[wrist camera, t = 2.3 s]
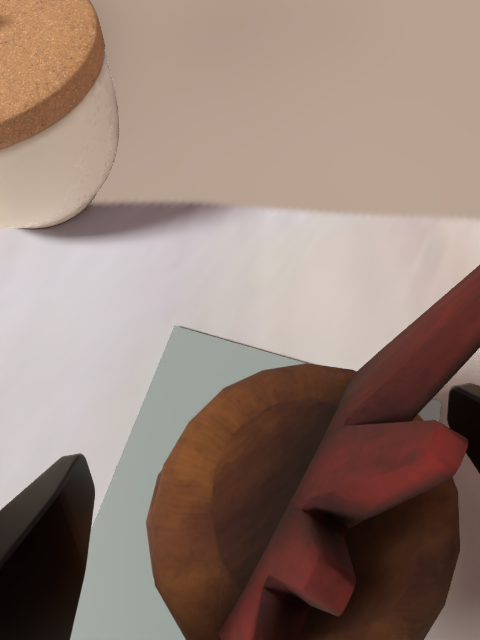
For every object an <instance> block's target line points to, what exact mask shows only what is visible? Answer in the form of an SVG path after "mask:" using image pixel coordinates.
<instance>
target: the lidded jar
mask: <svg viewBox="0 0 480 640" xmlns="http://www.w3.org/2000/svg"><path fill="white" fill-rule="evenodd" d="M118 138H119V123H118V107H117V101H116V94H115V89H114V85H113V80H112V77H111V72H110V68H109V65H108V60H107V57H106V54H105V44H104V39H103V35H102V31H101V27H100V23H99V19H98V16H97V13H96V11H95V9H94V7H93V5H92V4H91V2H90V1H89V0H0V227H1V228H27V229H38V228H46V227H51V226H55V225H57V224H60V223H63V222H65V221H67V220H69V219H71V218H73V217H74V216H76V215H78V214H79V213H80V212H82V211H83V210H84V209H85V208H86V207H87V206H88V205H89V204H90V203H91V201H92V200H93V198H94V197H95V195H96V193H97V192H98V190H99V189H100V188H101V186H102V185H103V183H104V182H105V180H106V179H107V177H108V175H109V172H110V170H111V167H112V165H113V162H114V160H115V156H116V151H117V145H118Z"/></svg>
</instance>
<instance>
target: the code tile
mask: <svg viewBox="0 0 480 640" xmlns="http://www.w3.org/2000/svg"><path fill="white" fill-rule="evenodd" d="M299 364H305V363H304V362H301V361H297V360H294V359H290V358H287V357H283V356H279V355H276V354H272V353H269V352H265V351H262V350H258V349H255V348H251V347H248V346H244V345H241V344H237V343H234V342H230V341H227V340H223V339H220V338H216V337H213V336H209V335H206V334H202V333H199V332H195V331H192V330H188V329H185V328H181V327H178V326H174V328H173V331H172V333H171V336H170V338H169V341H168V343H167V345H166V348H165V350H164V353H163V355H162V358H161V360H160V363H159V365H158V368H157V370H156V372H155V375H154V377H153V380H152V382H151V385H150V387H149V390H148V392H147V394H146V397H145V399H144V402H143V404H142V407H141V409H140V412H139V414H138V416H137V419H136V421H135V424H134V426H133V429H132V431H131V434H130V436H129V438H128V441H127V443H126V446H125V448H124V451H123V453H122V456H121V458H120V460H119V463H118V465H117V468H116V470H115V473H114V475H113V478H112V480H111V483H110V485H109V487H108V490H107V492H106V495H105V497H104V500H103V502H102V505H101V507H100V509H99V512H98V514H97V517H96V519H95V522H94V524H93V527H92V529H91V533H90V541H89V550H88V558H87V565H86V571H85V576H84V581H83V586H82V590H81V594H80V599H79V603H78V607H77V612H76V616H75V621H74V625H73V629H72V634H71V638H70V640H186V639H185V637H184V636H183V634H182V632H181V630H180V629H179V627H178V625H177V623H176V622H175V620H174V618H173V616H172V615H171V613H170V611H169V609H168V608H167V606H166V604H165V602H164V601H163V599H162V597H161V595H160V594H159V592H158V590H157V588H156V587H155V583H154V578H153V574H152V566H151V559H150V551H149V544H148V536H147V528H146V519H147V515H148V511H149V507H150V504H151V500H152V496H153V492H154V488H155V484H156V480H157V476H158V474H159V473H160V472H161V470H162V468H163V465H164V463H165V461H166V460H167V458H168V456H169V454H170V453H171V451H172V449H173V448H174V446H175V444H176V443H177V441H178V439H179V438H180V436H181V434H182V433H183V431H184V429H185V428H186V426H187V424H188V422H189V421H190V420H192V419H193V418H194V417H195V416H196V415H197V414H198V413H199V412H200V411H201V410H202V409H203V408H204V407H205V406H206V405H207V404H208V403H209V402H210V401H211V400H212V399H213V398H214V397H215V396H216V395H217V394H218V393H219V392H220V391H221V390H222V389H223V388H225V387H227V386H229V385H231V384H234V383H236V382H238V381H240V380H242V379H245V378H247V377H249V376H251V375H253V374H256V373H258V372H260V371H262V370H267V369H273V368H280V367H286V366H292V365H299ZM440 410H441V401H437V400H434V399H431V401H430V402H429V403H428V404H427V405H426V406H425V407H424V408H423V409H422V410H421V411H420V412H419V415H420V417H421V418H422V419H423V420H424V421H426V420H436V421H438V422H439V420H440Z"/></svg>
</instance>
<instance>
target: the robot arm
mask: <svg viewBox="0 0 480 640" xmlns="http://www.w3.org/2000/svg"><path fill="white" fill-rule="evenodd" d="M447 420H448V424H449V427H450V429H451V430H453V431H455V432H457V433H458V434H460V435H462V436H464V437H465V438H467V440H468V447H467V450H466V454H467V455H468V457H469V458H470V460H471V461H472V463H473V464H474V466H475V467H476V469H477V470H478V472H479V473H480V386H479V385H475V384H471V383H467V384H462V385H456V386H453V387H452V388H451V389H450V391H449V400H448V414H447ZM94 499H95V487H94V483H93V480H92V477H91V474H90V470H89V467H88V464H87V461H86V458H85V457H84V455H82V454H74V455H69V456H63V457H61V458H60V459H59V460H58V461H56V462H55V463H54V464H53V465H52V466H51V467H50V468H48V469H47V470H46V471H45V472H44V473H43V474H41V475H40V476H39V477H38V478H37V479H36V480H35V481H33V482H32V483H31V484H30V485H29V486H28V487H27V488H25V489H24V490H23V491H22V492H21V493H20V494H19V495H17V496H16V497H15V498H14V499H13V500H12V501H11V502H9V503H8V504H7V505H6V506H5V507H4V508H2V509H1V510H0V640H70V638H71V634H72V629H73V625H74V621H75V616H76V612H77V607H78V603H79V599H80V594H81V590H82V586H83V581H84V576H85V571H86V565H87V558H88V550H89V541H90V533H91V525H92V516H93V508H94Z"/></svg>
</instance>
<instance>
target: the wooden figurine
mask: <svg viewBox="0 0 480 640" xmlns="http://www.w3.org/2000/svg"><path fill="white" fill-rule="evenodd" d="M479 348H480V265H479V266H478V267H477V268H476V269H474V270H473V271H472V272H471V273H470V274H469V275H467V276H466V277H465V278H464V279H463V280H462V281H461V282H459V283H458V284H457V285H456V286H455V287H454V288H452V289H451V290H450V291H449V292H448V293H447V294H445V295H444V296H443V297H442V298H441V299H440V300H438V301H437V302H436V303H435V304H434V305H433V306H432V307H430V308H429V309H428V310H427V311H426V312H425V313H423V314H422V315H421V316H420V317H419V318H418V319H416V320H415V321H414V322H413V323H412V324H411V325H410V326H408V327H407V328H406V329H405V330H404V331H403V332H401V333H400V334H399V335H398V336H397V337H396V338H394V339H393V340H392V341H391V342H390V343H389V344H387V345H386V346H385V347H384V348H383V349H382V350H381V351H379V352H378V353H377V354H376V355H375V356H374V357H373V358H372V359H371V360H369V361H368V362H367V363H366V364H365V365H364V366H363V367H362V368H361V369H359V370H358V371H357V372H356V371H354V370H350V369H343V368H336V367H329V366H322V365H315V364H308V363H305V364H299V365H292V366H286V367H280V368H273V369H267V370H262V371H260V372H258V373H256V374H253V375H251V376H249V377H247V378H245V379H242V380H240V381H238V382H236V383H234V384H231V385H229V386H227V387H225V388H223V389H222V390H221V391H220V392H219V393H218V394H217V395H216V396H215V397H214V398H213V399H212V400H211V401H210V402H209V403H208V404H207V405H206V406H205V407H204V408H203V409H202V410H201V411H200V412H199V413H198V414H197V415H196V416H195V417H194V418H193V419H192V420H190V421H189V422H188V424H187V426H186V428H185V429H184V431H183V433H182V434H181V436H180V438H179V439H178V441H177V443H176V444H175V446H174V448H173V449H172V451H171V453H170V454H169V456H168V458H167V460H166V461H165V463H164V465H163V468H162V470H161V472H160V473H159V474H158V476H157V480H156V484H155V488H154V492H153V496H152V500H151V504H150V507H149V511H148V515H147V519H146V528H147V536H148V544H149V551H150V559H151V566H152V574H153V578H154V583H155V587H156V588H157V590H158V592H159V594H160V595H161V597H162V599H163V601H164V602H165V604H166V606H167V608H168V609H169V611H170V613H171V615H172V616H173V618H174V620H175V622H176V623H177V625H178V627H179V629H180V630H181V632H182V634H183V636H184V637H185V639H186V640H424V638H425V637H426V635H427V633H428V632H429V630H430V628H431V627H432V625H433V623H434V622H435V620H436V619H437V617H438V615H439V614H440V612H441V610H442V609H443V607H444V605H445V602H446V598H447V595H448V591H449V588H450V584H451V580H452V577H453V573H454V570H455V566H456V562H457V559H458V555H459V552H460V537H459V511H458V491H457V488H456V486H455V483H454V481H453V478H452V477H453V475H454V474H455V473H456V472H457V470H458V468H459V467H460V465H461V462H462V460H463V457H464V455H465V453H466V450H467V447H468V440H467V438H465V437H464V436H462V435H460V434H458V433H457V432H455V431H453V430H451V429H450V428H448V427H446V426H445V425H443V424H441V423H439V422H438V421H436V420H426V421H424V420H423V419H422V418H421V417H420V415H419V412H420V411H421V410H422V409H423V408H424V407H425V406H426V405H427V404H428V403H429V402H430V401H431V399H432V398H433V397H434V396H435V395H436V394H437V393H438V392H439V391H440V390H441V389H442V388H443V387H444V385H445V384H446V383H447V382H448V381H449V380H450V379H451V378H452V377H453V376H454V375H455V374H456V373H457V371H458V370H459V369H460V368H461V367H462V366H463V365H464V364H465V363H466V362H467V361H468V360H469V358H470V357H471V356H472V355H473V354H474V353H475V352H476V351H477V350H478V349H479Z"/></svg>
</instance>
